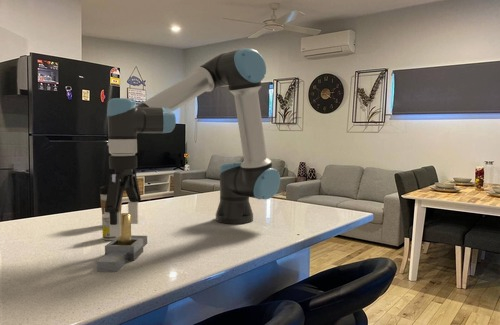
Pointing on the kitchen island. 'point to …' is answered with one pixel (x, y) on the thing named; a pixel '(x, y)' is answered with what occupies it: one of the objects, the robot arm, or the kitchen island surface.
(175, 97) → the robot arm
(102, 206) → the coffee cup
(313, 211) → the kitchen island surface
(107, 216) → the supplement bottle
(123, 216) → the pin
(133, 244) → the grey plate with loop
